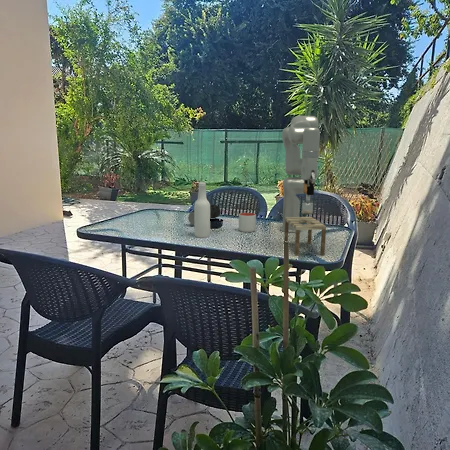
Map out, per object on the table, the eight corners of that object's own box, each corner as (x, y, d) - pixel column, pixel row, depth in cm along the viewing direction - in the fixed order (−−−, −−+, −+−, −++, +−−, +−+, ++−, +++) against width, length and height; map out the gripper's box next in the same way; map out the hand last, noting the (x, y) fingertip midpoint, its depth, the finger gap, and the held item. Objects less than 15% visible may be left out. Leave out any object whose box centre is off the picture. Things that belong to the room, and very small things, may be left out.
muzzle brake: (221, 219, 268) (221, 204, 265) (200, 228, 243) (200, 211, 241) (208, 218, 272) (208, 203, 269) (187, 226, 247) (186, 210, 245)
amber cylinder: (300, 212, 193) (302, 183, 190) (310, 212, 194) (312, 183, 191) (303, 214, 188) (305, 184, 185) (314, 214, 189) (315, 184, 186)
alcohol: (212, 237, 220) (212, 183, 214) (197, 238, 218) (196, 183, 211) (207, 233, 229) (207, 181, 222) (192, 234, 226) (192, 182, 219)
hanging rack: (284, 243, 209) (285, 217, 206) (310, 243, 210) (311, 216, 207) (295, 255, 187) (296, 226, 184) (324, 255, 189) (326, 226, 186)
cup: (244, 228, 243) (244, 212, 241) (258, 230, 237) (259, 214, 235) (235, 231, 235) (235, 214, 233) (249, 233, 230) (250, 216, 227)
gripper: (297, 154, 193) (295, 191, 197) (307, 156, 176) (305, 196, 180) (312, 154, 194) (310, 191, 198) (324, 156, 177) (322, 196, 181)
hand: (308, 193), depth 189 cm, fingers closed on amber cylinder, 5 cm apart
